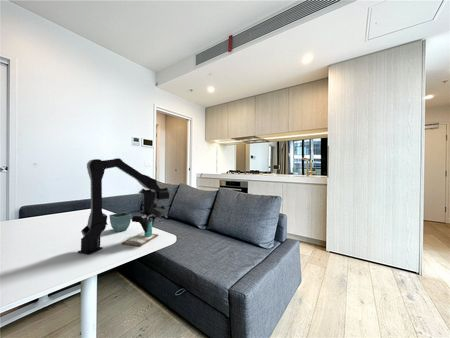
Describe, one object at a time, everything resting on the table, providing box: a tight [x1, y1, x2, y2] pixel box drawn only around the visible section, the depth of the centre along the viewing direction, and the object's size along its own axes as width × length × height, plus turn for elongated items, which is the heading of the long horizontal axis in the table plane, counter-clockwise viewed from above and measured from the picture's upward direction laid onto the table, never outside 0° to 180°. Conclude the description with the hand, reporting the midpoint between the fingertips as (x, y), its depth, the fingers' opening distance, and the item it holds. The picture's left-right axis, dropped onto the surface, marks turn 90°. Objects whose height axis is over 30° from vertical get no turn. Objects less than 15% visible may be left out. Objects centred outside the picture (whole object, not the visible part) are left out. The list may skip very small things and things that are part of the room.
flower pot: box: [109, 211, 132, 233], centre depth 109 cm, size 9×9×9 cm
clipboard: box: [121, 232, 159, 247], centre depth 96 cm, size 15×10×1 cm, turn 168°
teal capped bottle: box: [144, 217, 153, 237], centre depth 99 cm, size 4×4×9 cm
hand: (148, 231), depth 100 cm, fingers closed on teal capped bottle, 4 cm apart
